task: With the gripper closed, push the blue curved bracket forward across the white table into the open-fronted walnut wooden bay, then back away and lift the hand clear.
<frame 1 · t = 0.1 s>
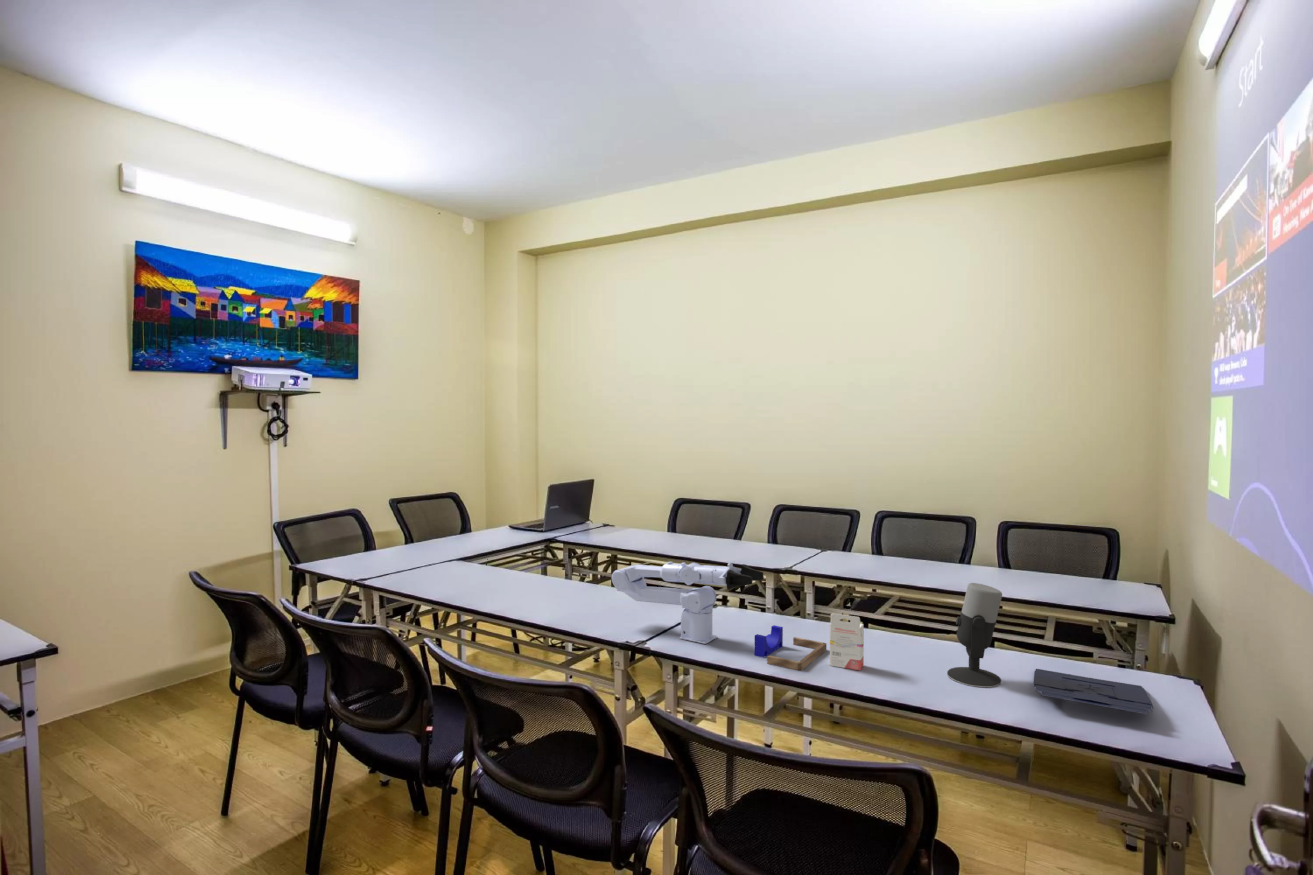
hand: (757, 578, 202), 22 cm above the table, fingers open, 7 cm apart
blue curved bracket: (766, 651, 203), on the table
ink cartridge box: (846, 666, 191), on the table
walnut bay: (797, 656, 198), on the table
grooved grey slab: (1089, 699, 169), on the table
microphone: (973, 678, 182), on the table
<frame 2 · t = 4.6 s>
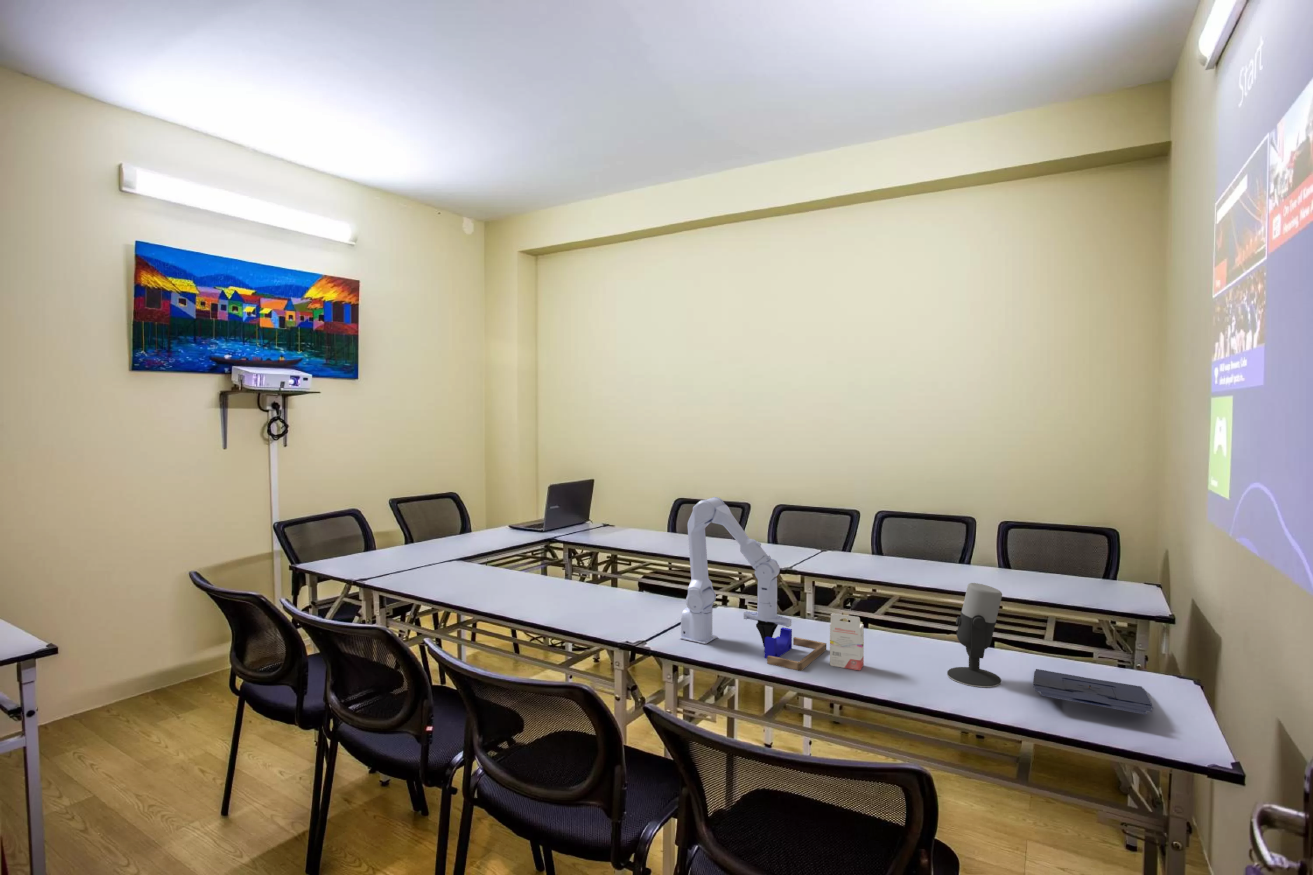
hand: (766, 646, 203), 1 cm above the table, fingers closed
blue curved bracket: (776, 653, 201), on the table, touching gripper
everything else where it was.
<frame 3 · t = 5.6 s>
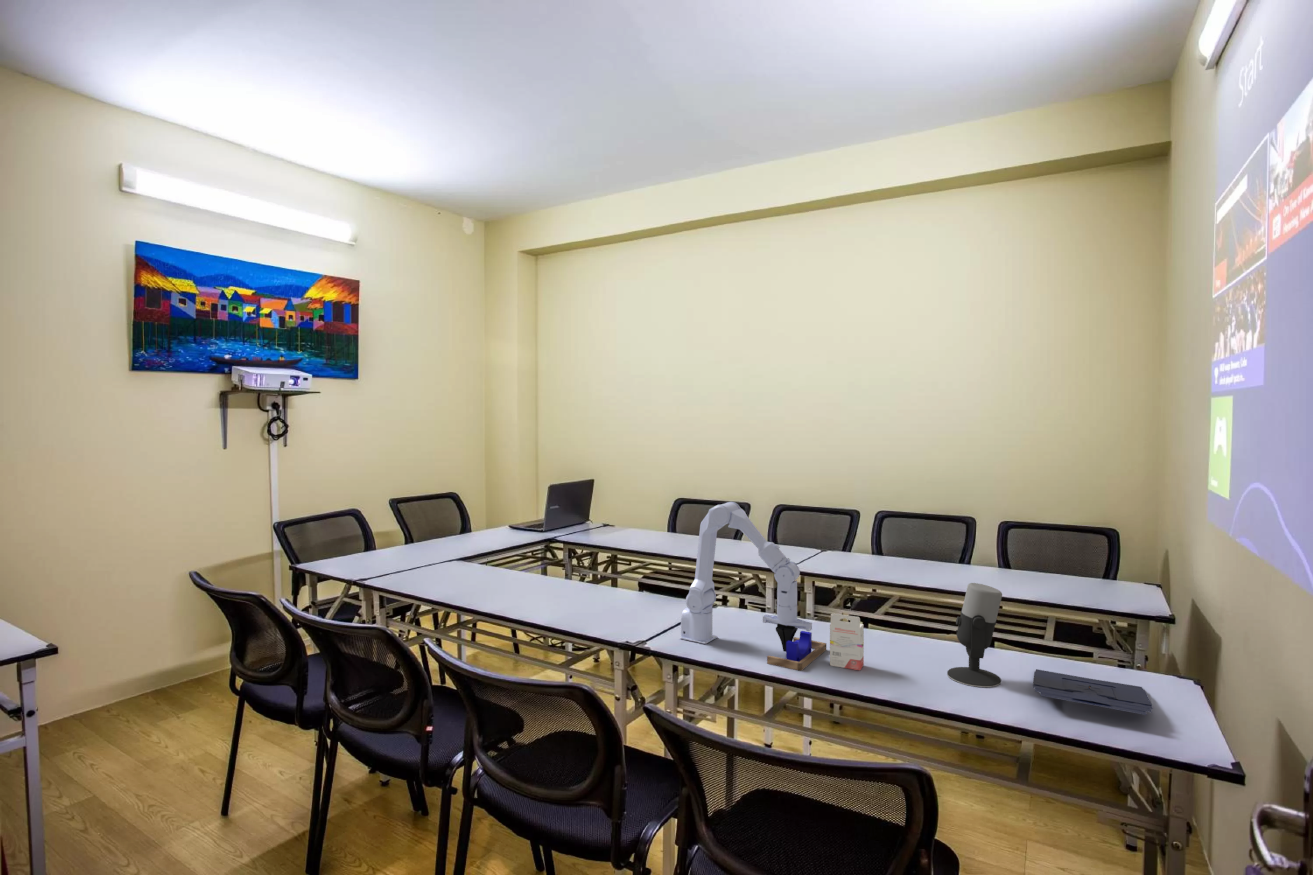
hand: (786, 650, 200), 1 cm above the table, fingers closed
blue curved bracket: (796, 657, 198), on the table
everything else where it was.
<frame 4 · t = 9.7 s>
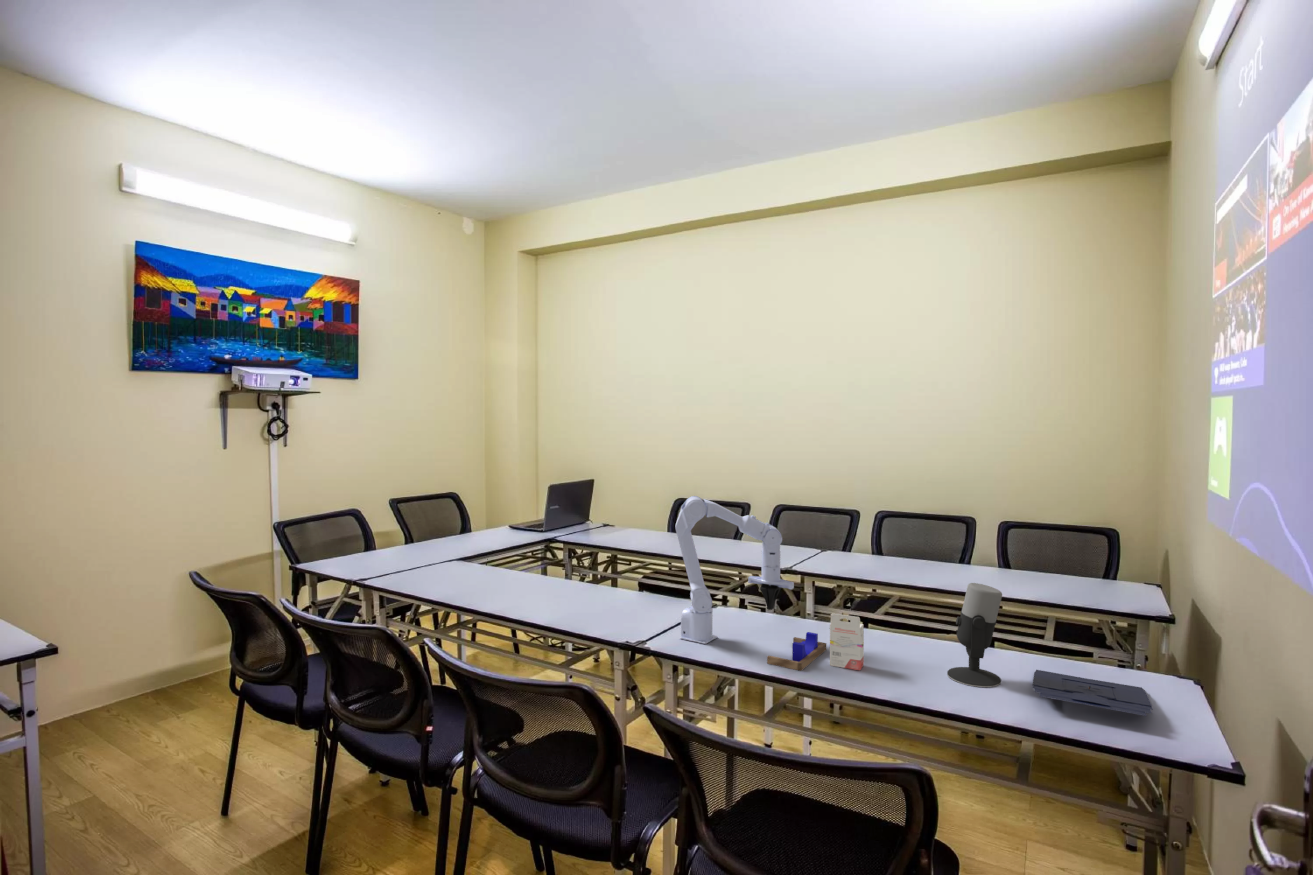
hand: (770, 608, 213), 9 cm above the table, fingers closed
blue curved bracket: (802, 659, 197), on the table
everything else where it was.
at the end: blue curved bracket inside the target area on the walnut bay (1.2 cm from its centre), point 0.0 cm above the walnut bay's base; blue curved bracket tilted 0° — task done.
